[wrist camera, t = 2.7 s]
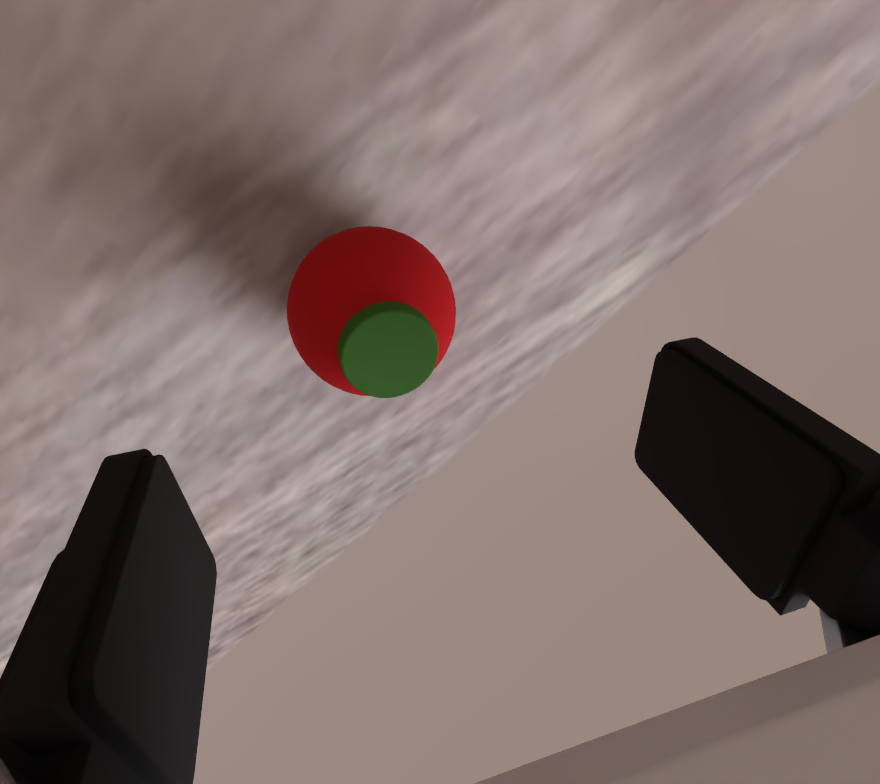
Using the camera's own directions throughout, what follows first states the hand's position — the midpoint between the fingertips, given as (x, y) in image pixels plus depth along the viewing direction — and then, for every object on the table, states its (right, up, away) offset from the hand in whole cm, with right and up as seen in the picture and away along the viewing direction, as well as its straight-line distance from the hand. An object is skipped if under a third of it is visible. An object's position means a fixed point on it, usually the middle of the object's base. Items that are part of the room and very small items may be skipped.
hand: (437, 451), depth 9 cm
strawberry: (-2, +5, +6) cm, 8 cm away
